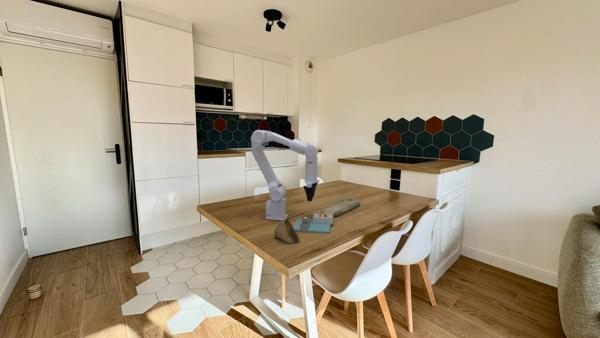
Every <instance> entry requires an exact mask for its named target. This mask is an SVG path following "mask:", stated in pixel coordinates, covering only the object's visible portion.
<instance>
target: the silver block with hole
mask: <svg viewBox="0 0 600 338" xmlns="http://www.w3.org/2000/svg"><path fill="white" fill-rule="evenodd" d="M312 219H313V223H315V224H330V225H333V224H334V223H333V222H334V217H333V214H324V217H320V212H319V213H317V212H314V213H313V216H312Z"/></svg>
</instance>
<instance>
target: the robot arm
mask: <svg viewBox="0 0 600 338" xmlns="http://www.w3.org/2000/svg"><path fill="white" fill-rule="evenodd" d="M250 141H251V142H250V143H251V148H250V149H251V154H252V156H253V158H254V160H255V162H256V164H257V167H259V169H260V171H261V173H262V175H263V177H264V179H265V181H266V183H267V185H268V186H267V187H268V192H269V198H270V199H267V201H266V203H265V220H269V221H270V220H273V221H283V220H284V218H288V215H289V214H286V213H287V210H286V209H287V208H286V206H287V205H286V203H287V201H286V200H287V199H286V197H285V196H286V195H287V193H288V192H287V188H286V186H284V185H283V183H282V182H281V181H280V180H279V179H278V178H277V175H276V174H275V172H274V170H273V168H272V166H271V164H270V162H269V160H268V158H267V156H266V154H265V152H264V150H265V147H266V145H267V144H268V143H269V142H276V143H279V144H282V145H283V146H287V147H289V149H290V151H293V152H295V153H297V154H300V155H301V156H303V155H304V156H305V160H304V161H305V162H304V165H305V166H304V167H305V168H304V183H306V185H304V186H303V189H304V191H305V195H306V201H307V202H312V201H313V199H314V197H315V193H316V188H317V186H318V184H319V183H320V181H321V180H320V179H318V154H319V150H318V148H317V146H315V145H314V144H311V143H309V142H304V141H302V140H301V139H300V138H294V139H290V138H287V137H285V136H283V135H280V134H278V133H277V132H272V131H269V130H266V129H265V130H264V129H263V130H261V129H257V130H254V132H252V134H251V137H250Z"/></svg>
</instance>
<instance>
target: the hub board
mask: <svg viewBox="0 0 600 338" xmlns="http://www.w3.org/2000/svg"><path fill="white" fill-rule="evenodd" d="M302 219H303V218H297V219H296V221H295V223H294V225H293V228H294V229H295V232H301V233H302V232H303V233H311V234H312V233H313V234H326V235H328V234H329V235H330V234H331V225H330V224H315V223H313V218H309V219H310V224H309V227H308V230H302V229H300V224H301V222H302Z"/></svg>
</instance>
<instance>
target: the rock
mask: <svg viewBox="0 0 600 338" xmlns="http://www.w3.org/2000/svg"><path fill="white" fill-rule="evenodd" d="M293 227H294V225H293V224H292V222H290V220H289V219H288V217H286V218H284V220H281V221H280V222H279V223H278V224H277V225H276V228H275V230H274V234H273V235H274V237H275V238H277V239H279V240H282V242H285V243H287V244H298V243H301V241H300V237H299V234H298V233H297V231H295V229H294V228H293Z"/></svg>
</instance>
